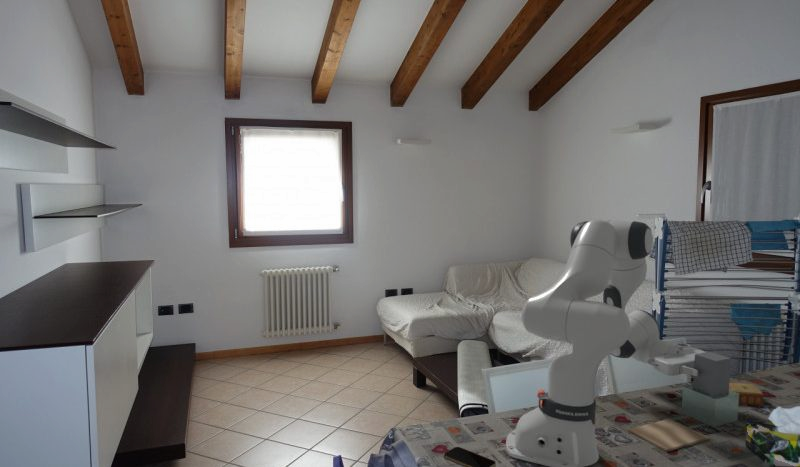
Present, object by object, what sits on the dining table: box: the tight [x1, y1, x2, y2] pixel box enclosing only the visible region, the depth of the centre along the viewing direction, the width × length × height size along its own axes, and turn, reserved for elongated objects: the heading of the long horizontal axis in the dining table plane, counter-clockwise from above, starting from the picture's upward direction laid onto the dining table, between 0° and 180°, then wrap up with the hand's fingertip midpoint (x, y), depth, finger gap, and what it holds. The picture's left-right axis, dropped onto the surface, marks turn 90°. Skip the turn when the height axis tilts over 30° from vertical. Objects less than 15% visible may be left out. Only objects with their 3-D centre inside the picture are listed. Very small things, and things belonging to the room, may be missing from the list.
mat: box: [627, 418, 710, 453], centre depth 140 cm, size 16×12×1 cm
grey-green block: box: [681, 383, 740, 428], centre depth 151 cm, size 10×10×12 cm
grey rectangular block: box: [692, 351, 732, 396], centre depth 150 cm, size 6×6×10 cm
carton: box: [729, 381, 764, 406], centre depth 165 cm, size 8×16×4 cm, turn 79°
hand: (709, 371), depth 151 cm, fingers open, 8 cm apart
